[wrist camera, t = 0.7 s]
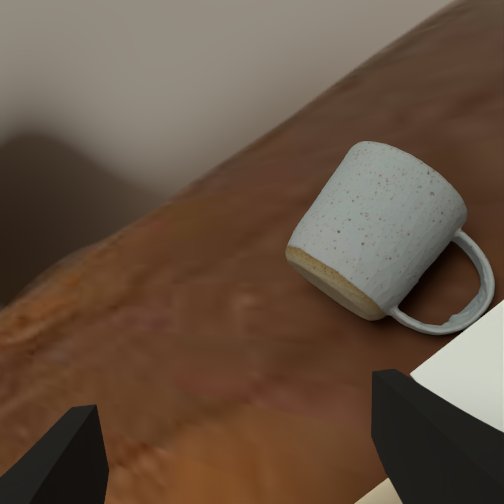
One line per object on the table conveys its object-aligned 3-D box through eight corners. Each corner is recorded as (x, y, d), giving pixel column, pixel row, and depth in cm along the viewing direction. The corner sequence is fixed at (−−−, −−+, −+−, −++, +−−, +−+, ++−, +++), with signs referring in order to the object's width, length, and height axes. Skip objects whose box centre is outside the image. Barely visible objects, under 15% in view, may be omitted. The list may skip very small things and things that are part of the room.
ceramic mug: (302, 286, 31) (253, 232, 25) (372, 194, 32) (340, 121, 26) (444, 378, 25) (422, 335, 19) (527, 260, 26) (531, 182, 20)
